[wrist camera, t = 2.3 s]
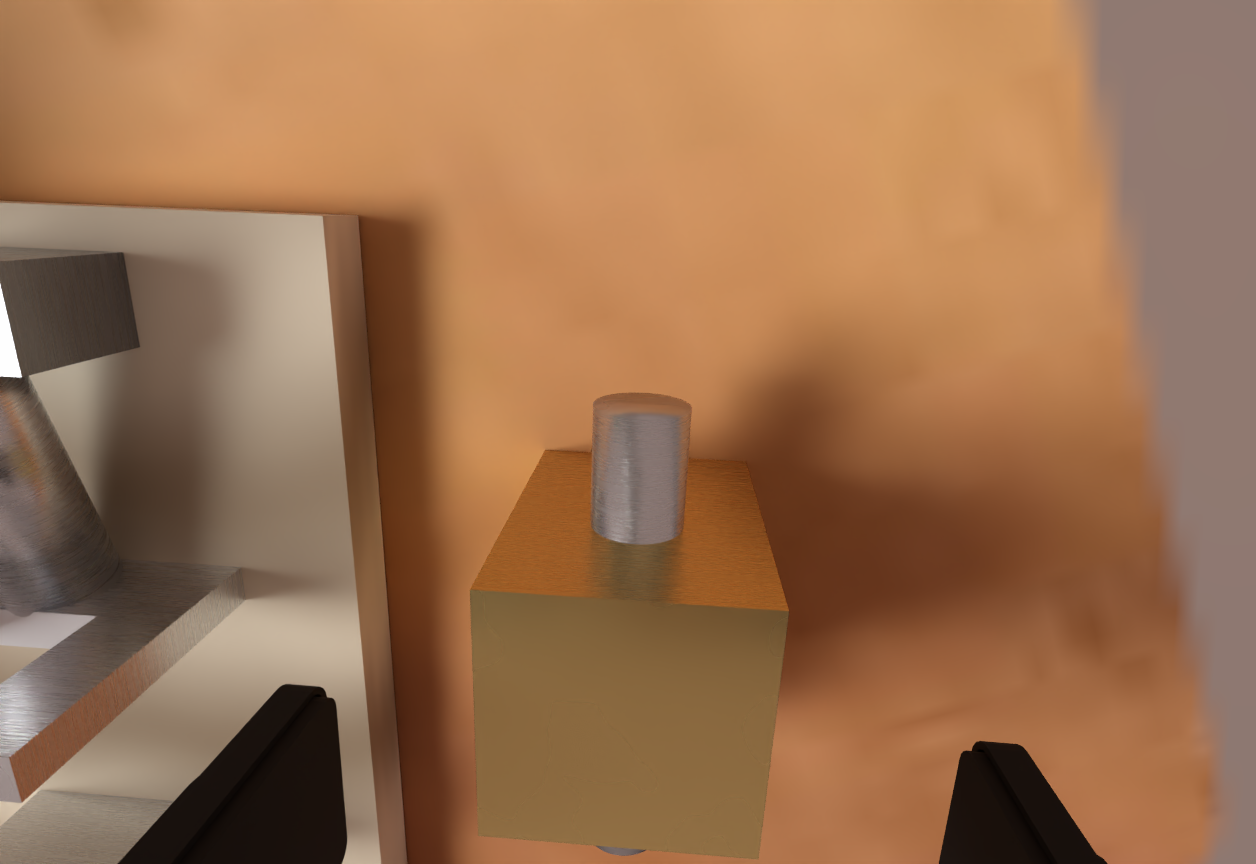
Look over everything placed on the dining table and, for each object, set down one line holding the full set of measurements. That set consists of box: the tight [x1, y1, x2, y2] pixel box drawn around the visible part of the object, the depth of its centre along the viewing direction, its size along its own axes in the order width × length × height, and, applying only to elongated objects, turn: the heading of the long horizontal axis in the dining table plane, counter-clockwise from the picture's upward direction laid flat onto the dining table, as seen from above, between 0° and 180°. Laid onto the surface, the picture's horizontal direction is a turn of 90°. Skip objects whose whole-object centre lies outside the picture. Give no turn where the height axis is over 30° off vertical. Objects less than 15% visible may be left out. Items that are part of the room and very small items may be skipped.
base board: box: [0, 201, 407, 864], centre depth 17 cm, size 22×11×2 cm, turn 178°
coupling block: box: [470, 393, 789, 859], centre depth 13 cm, size 9×4×6 cm, turn 178°
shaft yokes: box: [0, 247, 246, 864], centre depth 14 cm, size 20×6×6 cm, turn 178°
